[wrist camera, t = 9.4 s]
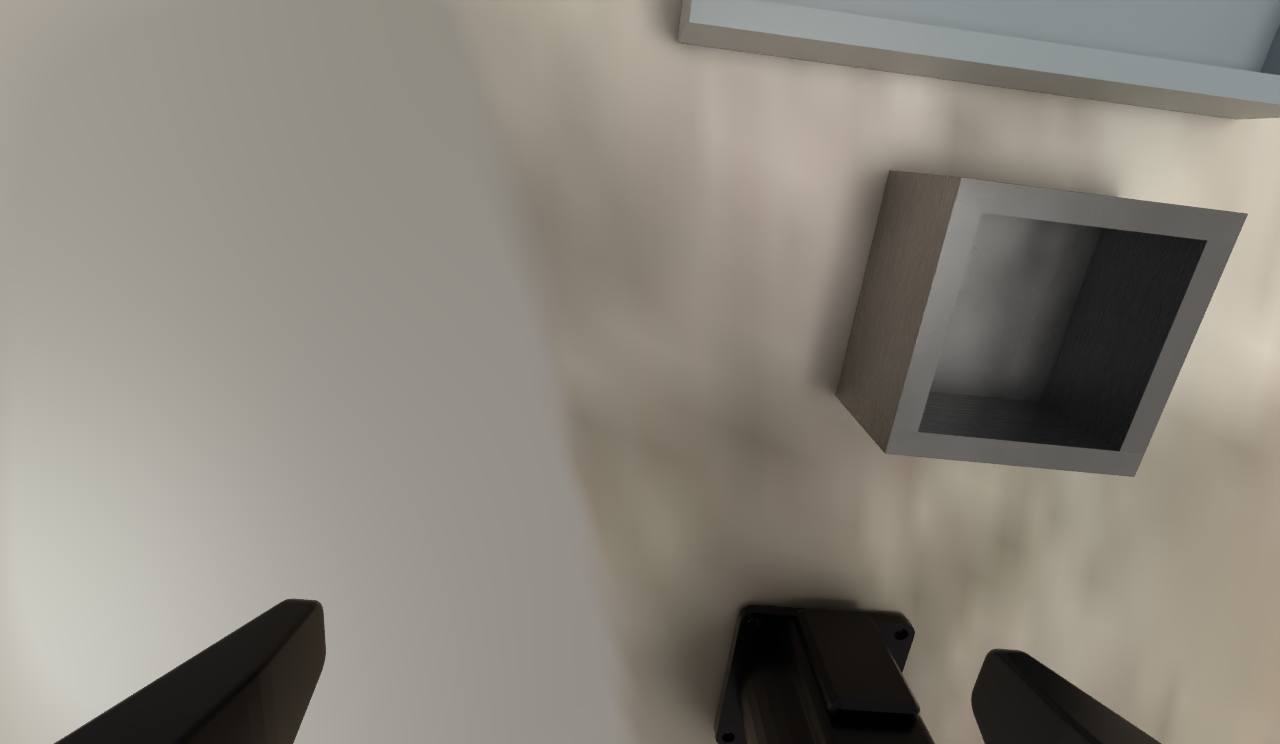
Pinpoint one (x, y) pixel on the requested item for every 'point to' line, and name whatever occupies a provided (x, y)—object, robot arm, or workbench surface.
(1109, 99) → the tray
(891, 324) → the box
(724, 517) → the workbench surface
